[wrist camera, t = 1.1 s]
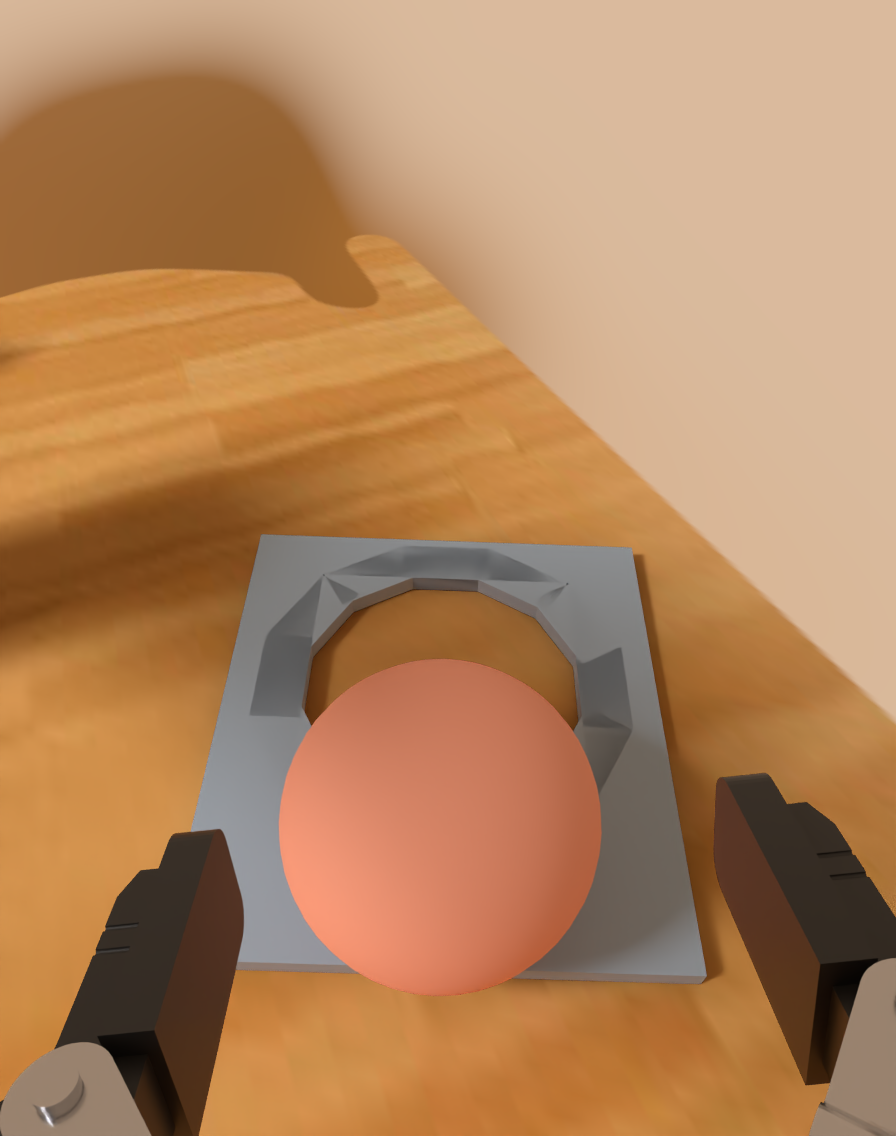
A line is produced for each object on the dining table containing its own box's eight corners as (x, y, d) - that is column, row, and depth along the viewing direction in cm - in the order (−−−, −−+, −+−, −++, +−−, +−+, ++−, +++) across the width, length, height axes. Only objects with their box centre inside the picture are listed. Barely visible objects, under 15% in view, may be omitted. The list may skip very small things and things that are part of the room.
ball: (239, 875, 36) (183, 725, 28) (441, 713, 42) (449, 546, 33) (430, 1113, 31) (437, 1020, 22) (633, 888, 37) (704, 743, 28)
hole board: (700, 984, 35) (706, 976, 34) (165, 967, 35) (160, 959, 34) (628, 559, 51) (631, 547, 50) (263, 546, 51) (261, 534, 50)
